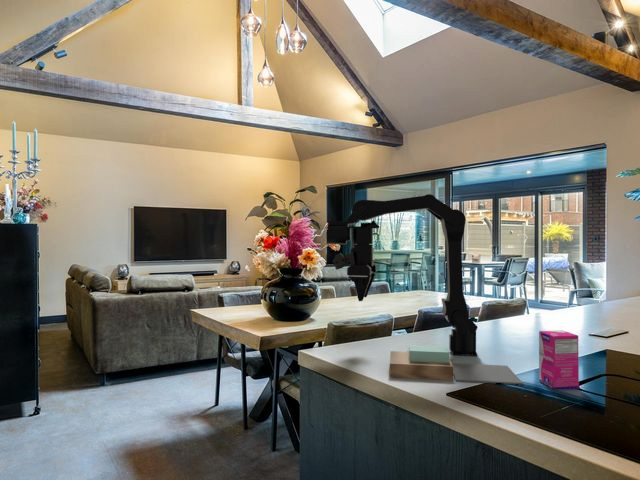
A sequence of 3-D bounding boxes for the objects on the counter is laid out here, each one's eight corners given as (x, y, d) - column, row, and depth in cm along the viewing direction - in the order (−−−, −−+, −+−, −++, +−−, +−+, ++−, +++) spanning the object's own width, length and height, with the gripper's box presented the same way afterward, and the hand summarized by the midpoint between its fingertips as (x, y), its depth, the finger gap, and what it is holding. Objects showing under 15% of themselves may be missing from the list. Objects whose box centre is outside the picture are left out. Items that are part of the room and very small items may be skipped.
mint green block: (446, 356, 111) (446, 346, 111) (449, 362, 105) (449, 352, 105) (408, 354, 113) (408, 345, 113) (409, 361, 107) (409, 350, 107)
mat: (507, 367, 113) (507, 365, 113) (523, 384, 99) (523, 383, 99) (448, 364, 115) (448, 362, 115) (456, 381, 101) (456, 379, 101)
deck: (447, 365, 114) (447, 353, 114) (453, 379, 102) (453, 366, 102) (390, 362, 116) (390, 351, 116) (390, 376, 104) (390, 363, 104)
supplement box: (537, 381, 101) (538, 330, 101) (563, 381, 102) (563, 329, 102) (553, 390, 96) (553, 335, 96) (580, 389, 96) (580, 335, 96)
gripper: (340, 244, 141) (340, 294, 141) (328, 244, 123) (328, 302, 123) (376, 244, 139) (376, 295, 139) (369, 244, 121) (369, 303, 121)
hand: (362, 299), depth 131 cm, fingers open, 9 cm apart
